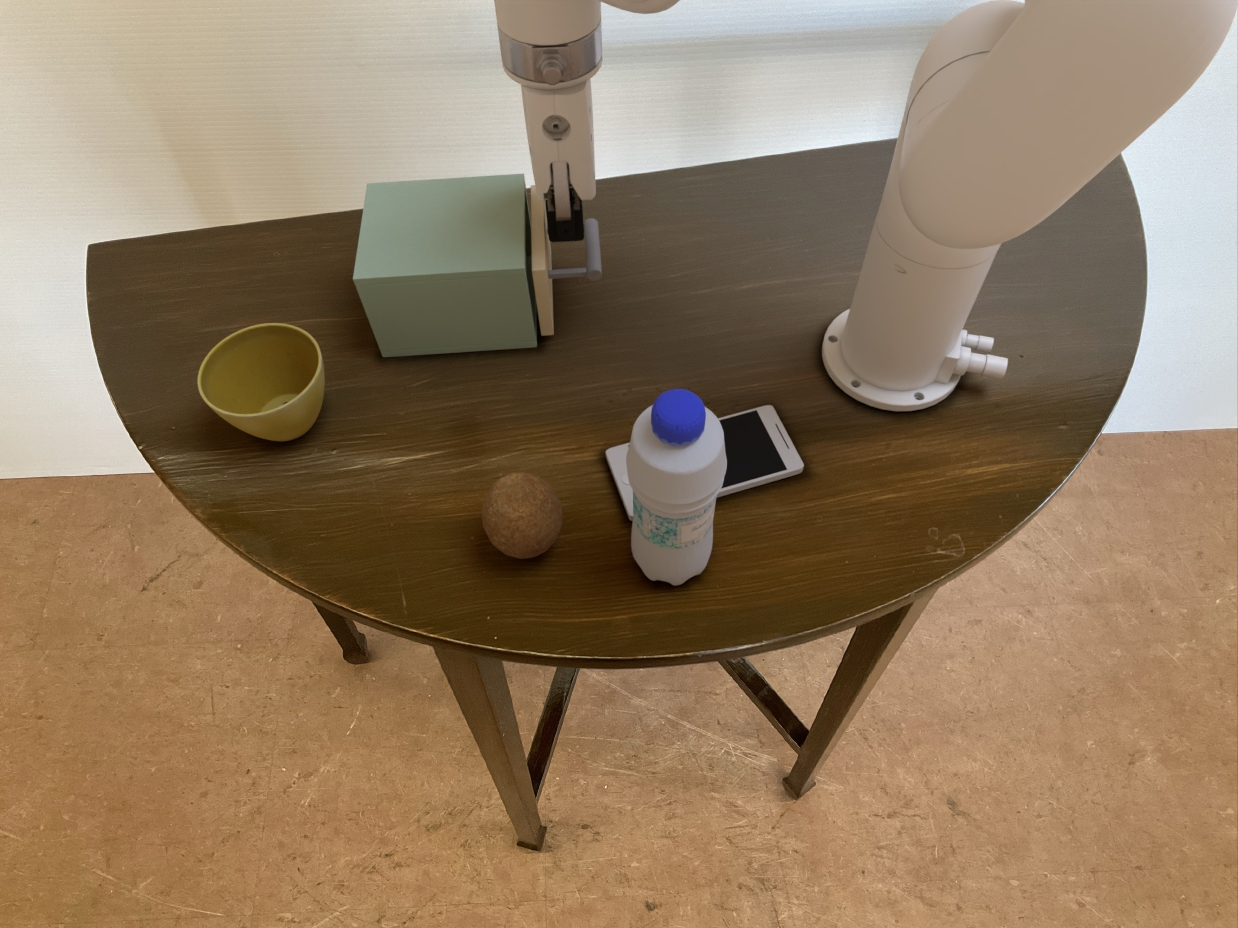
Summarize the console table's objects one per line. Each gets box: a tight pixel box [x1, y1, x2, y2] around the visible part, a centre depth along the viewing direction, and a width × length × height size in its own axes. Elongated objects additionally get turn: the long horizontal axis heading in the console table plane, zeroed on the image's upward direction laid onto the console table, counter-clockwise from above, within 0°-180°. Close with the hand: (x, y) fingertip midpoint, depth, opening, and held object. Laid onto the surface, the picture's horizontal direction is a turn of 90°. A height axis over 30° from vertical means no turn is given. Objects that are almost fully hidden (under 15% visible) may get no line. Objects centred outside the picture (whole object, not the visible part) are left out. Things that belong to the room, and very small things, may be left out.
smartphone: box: [605, 404, 805, 522], centre depth 73 cm, size 7×15×1 cm, turn 108°
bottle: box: [626, 388, 727, 586], centre depth 60 cm, size 7×7×20 cm
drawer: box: [525, 184, 603, 337], centre depth 80 cm, size 18×11×8 cm, turn 94°
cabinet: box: [352, 173, 538, 358], centre depth 80 cm, size 15×13×10 cm
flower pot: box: [197, 322, 326, 442], centre depth 74 cm, size 10×10×7 cm
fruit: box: [481, 471, 563, 560], centre depth 66 cm, size 6×6×8 cm
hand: (566, 235), depth 78 cm, fingers closed
